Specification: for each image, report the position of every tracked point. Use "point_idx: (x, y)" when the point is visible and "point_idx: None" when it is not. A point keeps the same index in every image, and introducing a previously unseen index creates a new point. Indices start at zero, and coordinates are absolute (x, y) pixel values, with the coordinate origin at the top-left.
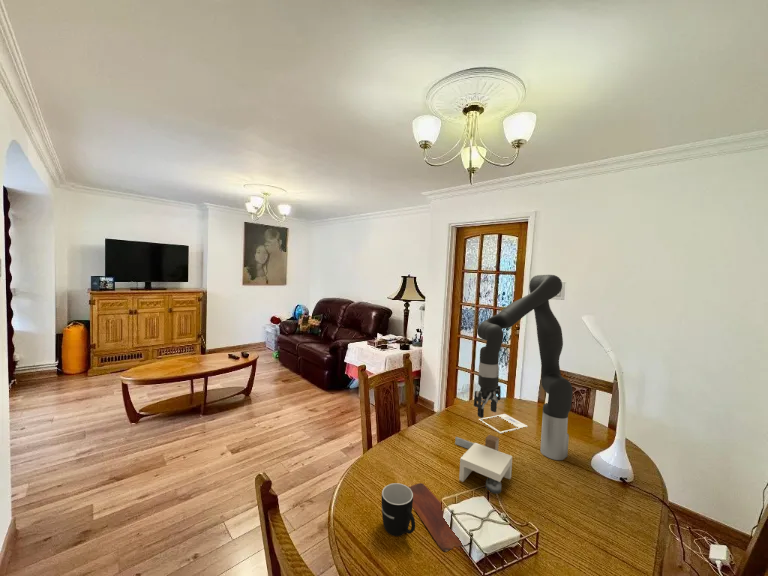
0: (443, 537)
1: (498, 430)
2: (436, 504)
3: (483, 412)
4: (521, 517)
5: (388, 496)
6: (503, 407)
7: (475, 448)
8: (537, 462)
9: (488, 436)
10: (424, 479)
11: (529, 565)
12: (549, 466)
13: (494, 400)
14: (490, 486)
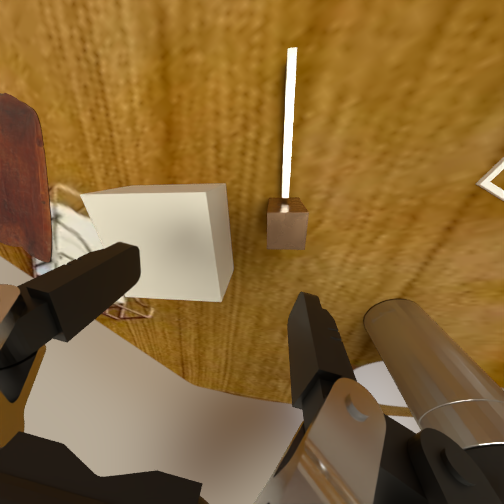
0: (3, 233)
1: (500, 171)
2: (29, 187)
3: (100, 309)
4: (150, 300)
5: None
6: None
7: (170, 210)
8: (331, 299)
9: (290, 216)
10: (51, 106)
11: None
12: None
13: (285, 454)
14: None
